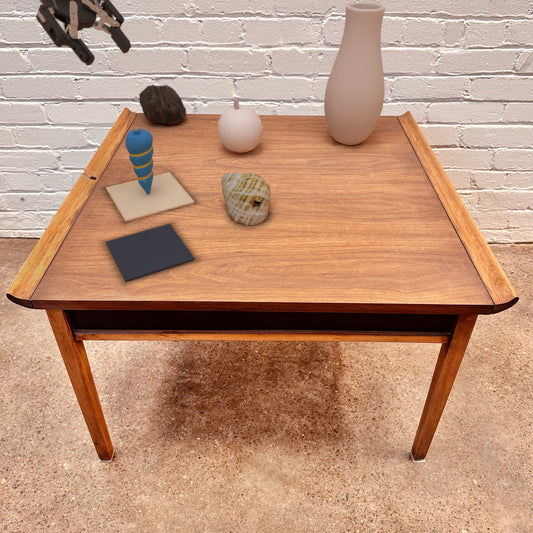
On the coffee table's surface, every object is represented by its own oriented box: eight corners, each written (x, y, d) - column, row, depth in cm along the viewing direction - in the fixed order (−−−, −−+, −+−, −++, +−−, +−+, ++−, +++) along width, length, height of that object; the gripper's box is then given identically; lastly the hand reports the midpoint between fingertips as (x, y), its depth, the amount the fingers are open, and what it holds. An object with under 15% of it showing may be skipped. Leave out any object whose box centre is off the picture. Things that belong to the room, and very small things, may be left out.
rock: (189, 124, 124) (179, 84, 118) (146, 133, 123) (134, 94, 117) (187, 113, 132) (177, 76, 126) (146, 122, 131) (135, 84, 126)
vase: (374, 130, 124) (395, 0, 105) (378, 154, 113) (402, 14, 94) (321, 127, 125) (332, -2, 106) (320, 151, 114) (332, 11, 95)
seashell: (265, 227, 88) (240, 180, 84) (226, 235, 94) (201, 191, 89) (287, 199, 95) (265, 154, 90) (249, 207, 101) (227, 165, 96)
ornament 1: (163, 188, 99) (153, 118, 90) (157, 201, 95) (145, 129, 86) (139, 187, 100) (126, 117, 90) (131, 200, 96) (117, 128, 86)
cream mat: (125, 221, 90) (125, 220, 90) (106, 188, 100) (105, 187, 100) (194, 203, 96) (194, 201, 96) (169, 173, 105) (169, 171, 105)
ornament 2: (211, 147, 115) (207, 98, 108) (246, 137, 120) (245, 89, 112) (234, 164, 109) (233, 112, 101) (270, 152, 114) (271, 102, 106)
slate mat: (125, 282, 77) (125, 280, 77) (106, 243, 85) (105, 241, 85) (194, 260, 82) (194, 258, 81) (170, 225, 90) (169, 223, 90)
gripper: (14, -40, 72) (86, 52, 75) (86, -50, 82) (148, 32, 84) (4, -4, 78) (71, 80, 80) (72, -17, 87) (130, 59, 90)
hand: (110, 56), depth 82 cm, fingers open, 8 cm apart
